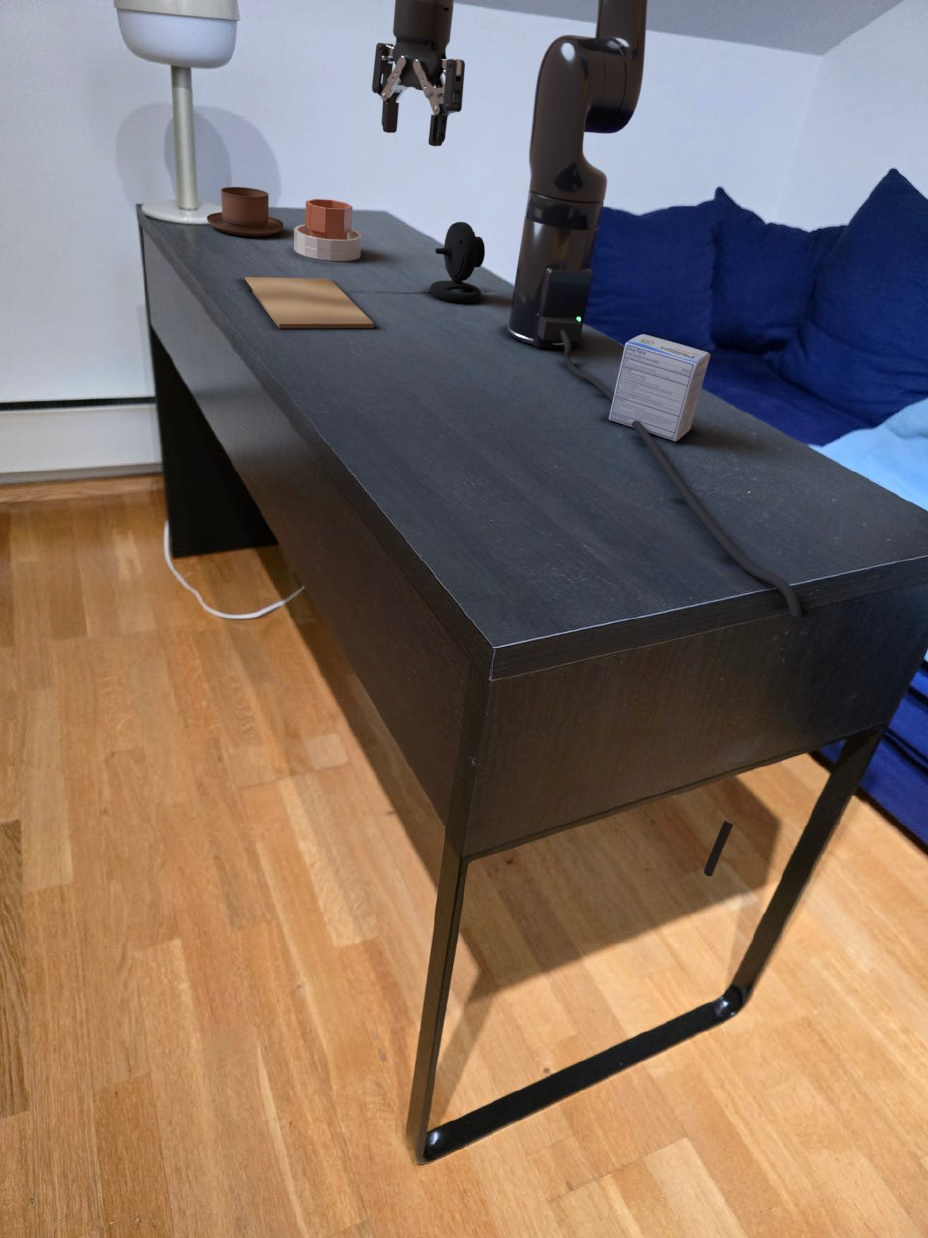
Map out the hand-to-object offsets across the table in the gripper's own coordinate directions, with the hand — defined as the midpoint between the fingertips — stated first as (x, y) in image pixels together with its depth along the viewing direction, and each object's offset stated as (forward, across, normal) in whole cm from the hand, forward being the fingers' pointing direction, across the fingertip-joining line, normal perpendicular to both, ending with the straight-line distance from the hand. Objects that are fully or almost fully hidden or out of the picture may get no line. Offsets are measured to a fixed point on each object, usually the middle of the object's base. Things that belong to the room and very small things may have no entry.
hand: (412, 138), depth 123 cm
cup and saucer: (+19, -29, -5) cm, 35 cm away
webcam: (+18, +12, -1) cm, 22 cm away
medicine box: (+17, +54, -20) cm, 61 cm away
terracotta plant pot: (+18, -13, -2) cm, 23 cm away
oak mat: (+18, +4, -23) cm, 30 cm away
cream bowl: (+19, -13, -2) cm, 23 cm away
